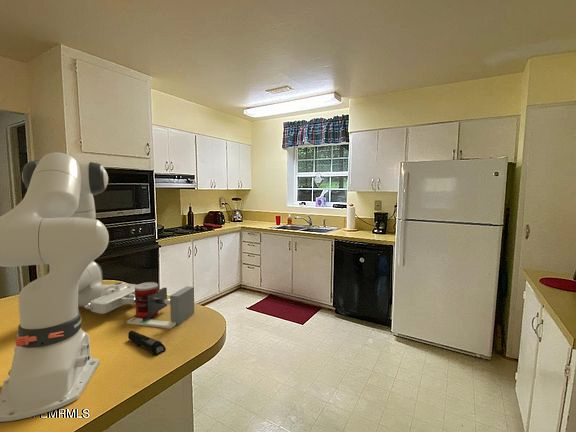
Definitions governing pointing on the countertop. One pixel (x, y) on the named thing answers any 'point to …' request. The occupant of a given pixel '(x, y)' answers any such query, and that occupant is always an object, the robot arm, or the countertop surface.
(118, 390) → the countertop surface
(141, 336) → the electric trimmer
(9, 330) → the countertop surface
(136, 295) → the canned food
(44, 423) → the countertop surface
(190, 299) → the push gauge
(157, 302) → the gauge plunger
